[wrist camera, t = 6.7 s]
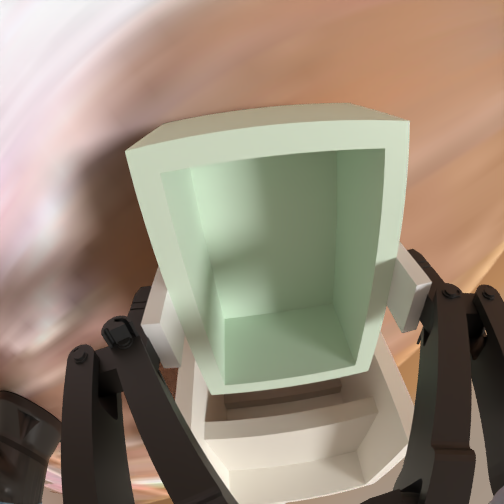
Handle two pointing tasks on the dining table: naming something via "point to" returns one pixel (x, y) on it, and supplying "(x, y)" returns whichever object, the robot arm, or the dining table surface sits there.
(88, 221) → the dining table surface
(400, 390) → the box
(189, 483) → the robot arm
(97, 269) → the dining table surface
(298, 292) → the tray
